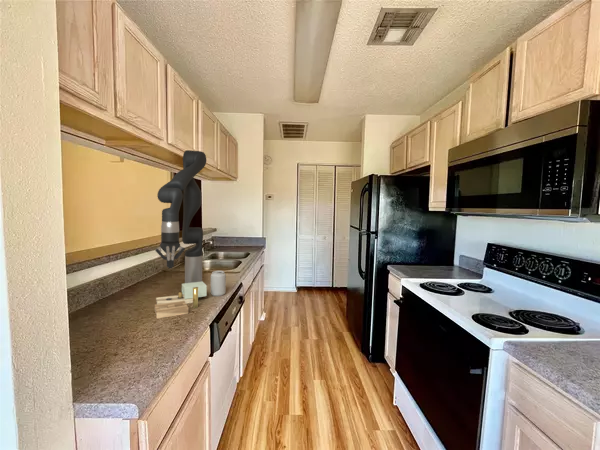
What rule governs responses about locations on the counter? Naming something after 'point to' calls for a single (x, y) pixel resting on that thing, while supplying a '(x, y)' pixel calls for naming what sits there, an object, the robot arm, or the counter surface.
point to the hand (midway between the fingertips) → (170, 268)
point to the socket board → (171, 309)
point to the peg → (195, 297)
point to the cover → (188, 289)
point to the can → (218, 283)
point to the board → (173, 299)
